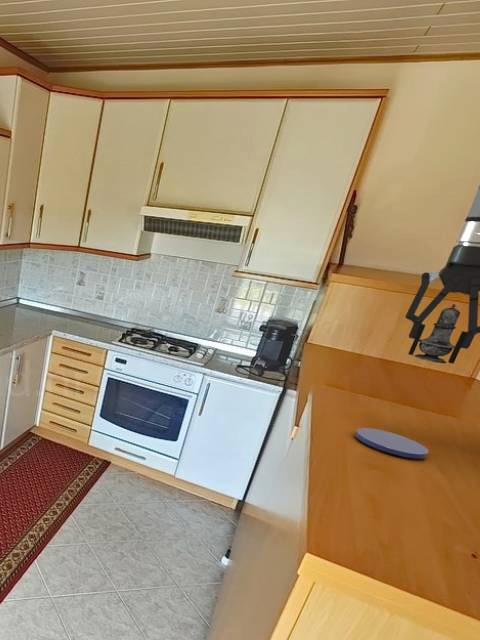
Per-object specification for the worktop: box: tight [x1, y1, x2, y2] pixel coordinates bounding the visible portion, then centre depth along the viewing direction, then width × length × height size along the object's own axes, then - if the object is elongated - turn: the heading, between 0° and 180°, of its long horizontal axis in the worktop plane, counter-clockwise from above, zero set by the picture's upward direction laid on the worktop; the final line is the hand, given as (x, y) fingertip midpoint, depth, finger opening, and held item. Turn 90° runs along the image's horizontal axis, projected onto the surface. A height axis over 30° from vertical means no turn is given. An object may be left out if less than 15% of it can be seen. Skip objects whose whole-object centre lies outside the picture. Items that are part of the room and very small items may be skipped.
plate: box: [355, 427, 430, 460], centre depth 103 cm, size 12×12×2 cm
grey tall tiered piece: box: [413, 303, 461, 364], centre depth 102 cm, size 6×6×12 cm
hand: (430, 357), depth 104 cm, fingers closed on grey tall tiered piece, 6 cm apart
